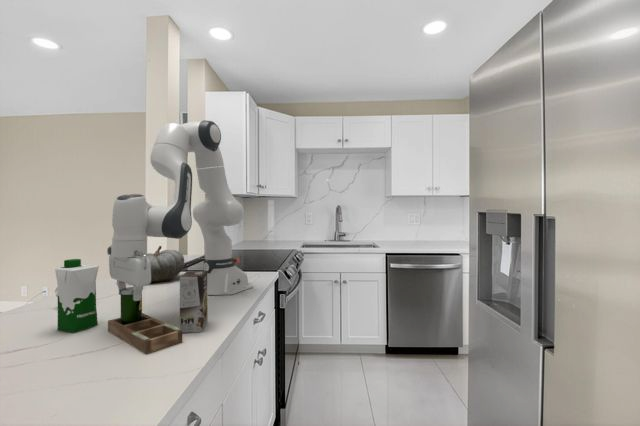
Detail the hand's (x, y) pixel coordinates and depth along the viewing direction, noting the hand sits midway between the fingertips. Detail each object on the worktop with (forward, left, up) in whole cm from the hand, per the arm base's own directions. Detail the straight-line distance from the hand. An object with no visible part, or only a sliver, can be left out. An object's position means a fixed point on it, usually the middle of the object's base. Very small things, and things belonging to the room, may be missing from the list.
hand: (129, 297), depth 94 cm
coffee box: (-13, +12, -10) cm, 20 cm away
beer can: (-1, 0, -10) cm, 10 cm away
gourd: (-37, -62, -10) cm, 72 cm away
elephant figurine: (+2, -41, -10) cm, 42 cm away
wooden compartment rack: (-1, +8, -10) cm, 12 cm away
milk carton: (+8, -15, -10) cm, 19 cm away
